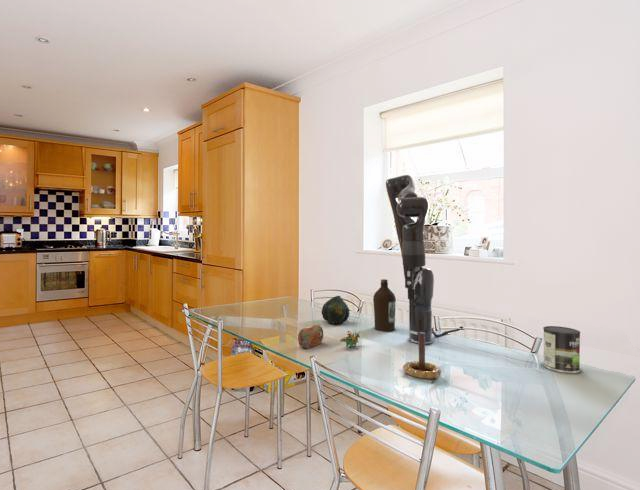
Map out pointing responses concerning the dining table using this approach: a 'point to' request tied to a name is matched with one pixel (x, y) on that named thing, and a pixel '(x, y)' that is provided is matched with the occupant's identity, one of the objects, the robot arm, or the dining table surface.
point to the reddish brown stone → (310, 336)
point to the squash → (335, 310)
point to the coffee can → (562, 349)
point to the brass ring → (431, 374)
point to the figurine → (351, 339)
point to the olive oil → (384, 308)
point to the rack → (422, 353)
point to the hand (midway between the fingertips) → (414, 297)
